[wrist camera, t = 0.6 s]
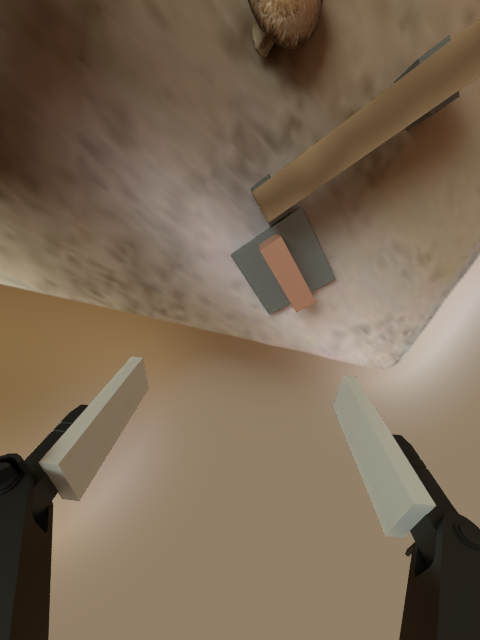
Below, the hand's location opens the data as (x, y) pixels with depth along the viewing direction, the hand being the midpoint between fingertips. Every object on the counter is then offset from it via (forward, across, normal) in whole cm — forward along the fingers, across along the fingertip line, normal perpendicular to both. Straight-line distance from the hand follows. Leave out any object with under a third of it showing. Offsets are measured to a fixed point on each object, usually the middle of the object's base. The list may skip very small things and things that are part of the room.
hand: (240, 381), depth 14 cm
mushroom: (+24, +1, +29) cm, 37 cm away
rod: (+20, +9, +17) cm, 28 cm away
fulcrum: (+24, +5, +3) cm, 24 cm away
